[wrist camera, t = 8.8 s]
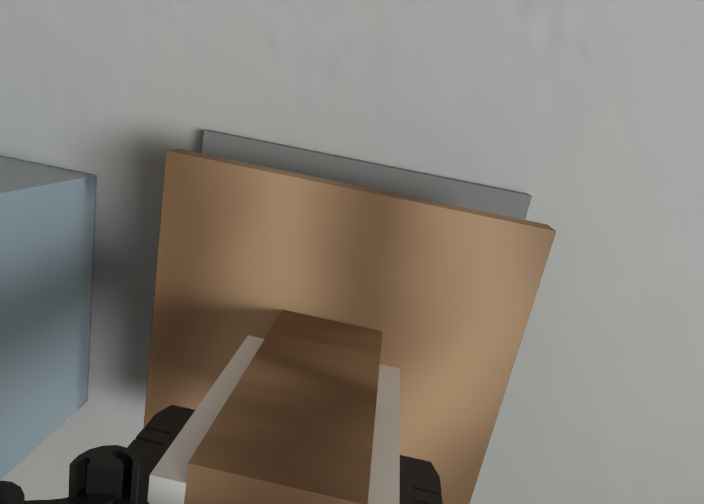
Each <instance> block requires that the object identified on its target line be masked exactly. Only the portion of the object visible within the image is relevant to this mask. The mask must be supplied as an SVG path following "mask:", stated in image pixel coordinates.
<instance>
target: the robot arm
mask: <svg viewBox="0 0 704 504" xmlns="http://www.w3.org/2000/svg"><path fill="white" fill-rule="evenodd" d="M263 341H264V339H263V338H258V337H254V336H249V335H248V336H247V338H246V339H245V341H244V342H243V343H242V345H241V346H240V348H239V349H238V350H237V352H236V353H235V355H234V356H233V358H232V359H231V360H230V362H229V363H228V365H227V366H226V367H225V369H224V370H223V372H222V373H221V375H220V376H219V377H218V379H217V380H216V382H215V383H214V384H213V386H212V387H211V389H210V390H209V392H208V393H207V394H206V396H205V397H204V399H203V400H202V401H201V403H200V404H199V406H198V407H197V409H196V410H194V409H189V408H185V407H180V406H176V405H170V406H168V407H167V408H165V409H163V410H161V411H160V412H158V413H156V414H155V415H154V416H153V417H152V419H151V420H150V421H149V422H148V423H147V425H146V426H145V428H144V429H142V431H141V432H140V433H139V434H138V435H137V437H136V439H135V440H133V441H132V443H131V444H130V445H129V446H128V447H127V448H126V447H122V446H118V445H110V446H101V447H97V448H93V449H90V450H88V451H86V452H84V453H82V454H80V455H79V456H77V457H76V458H75V459H74V460H73V461H72V462H71V464H70V471H69V497H67V498H63V499H54V500H32V501H24V493H23V491H22V489H21V487H20V486H18V485H16V484H14V483H12V482H7V481H0V504H184V498H185V490H186V475H187V466H188V462H189V460H190V459H191V457H192V456H193V454H194V452H195V451H196V449H197V447H198V446H199V444H200V443H201V441H202V439H203V438H204V436H205V435H206V433H207V431H208V430H209V428H210V426H211V425H212V423H213V422H214V420H215V418H216V417H217V415H218V414H219V412H220V410H221V409H222V407H223V405H224V404H225V402H226V401H227V399H228V397H229V396H230V394H231V393H232V391H233V389H234V388H235V386H236V384H237V383H238V381H239V380H240V378H241V376H242V375H243V373H244V372H245V370H246V368H247V367H248V365H249V364H250V362H251V360H252V359H253V357H254V355H255V354H256V352H257V351H258V349H259V347H260V346H261V344H262V343H263ZM441 493H442V492H441V483H440V476H439V475H438V473H437V471H436V470H435V468H434V466H433V465H432V463H431V462H430V461H425V460H421V459H417V458H412V457H408V456H403V455H400V368H396V367H391V366H386V365H382V364H380V366H379V377H378V389H377V401H376V413H375V424H374V436H373V448H372V460H371V471H370V483H369V495H368V504H443V501H442V496H441Z"/></svg>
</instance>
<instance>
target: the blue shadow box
mask: <svg viewBox="0 0 704 504" xmlns="http://www.w3.org/2000/svg"><path fill="white" fill-rule="evenodd" d="M95 196H96V175H91V174H87V173H82V172H77V171H72V170H67V169H62V168H57V167H52V166H48V165H43V164H38V163H33V162H28V161H23V160H18V159H14V158H9V157H4V156H0V480H1V479H2V478H3V477H4V476H5V475H6V474H8V473H9V472H10V471H11V470H12V469H13V468H14V467H15V466H16V465H17V464H19V463H20V462H21V461H22V460H23V459H24V458H25V457H26V456H27V455H28V454H30V453H31V452H32V451H33V450H34V449H35V448H36V447H37V446H38V445H40V444H41V443H42V442H43V441H44V440H45V439H46V438H47V437H48V436H49V435H51V434H52V433H53V432H54V431H55V430H56V429H57V428H58V427H59V426H60V425H62V424H63V423H64V422H65V421H66V420H67V419H68V418H69V417H70V416H72V415H73V414H74V413H75V412H76V411H77V410H78V409H79V408H80V407H81V406H83V405H84V404H85V403H86V402H87V394H88V369H89V344H90V319H91V295H92V270H93V245H94V221H95Z"/></svg>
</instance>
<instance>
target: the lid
mask: <svg viewBox="0 0 704 504" xmlns="http://www.w3.org/2000/svg"><path fill="white" fill-rule="evenodd" d="M555 233H556V231H555V230H554V229H553V228H551V227H550V226H548V225H547V224H542V223H537V222H532V221H527V220H522V219H518V218H513V217H508V216H503V215H498V214H493V213H488V212H484V211H479V210H474V209H469V208H464V207H459V206H454V205H450V204H445V203H440V202H435V201H430V200H425V199H420V198H416V197H411V196H406V195H401V194H396V193H391V192H386V191H382V190H377V189H372V188H367V187H362V186H357V185H352V184H348V183H343V182H338V181H333V180H328V179H323V178H318V177H314V176H309V175H304V174H299V173H294V172H289V171H284V170H280V169H275V168H270V167H265V166H260V165H255V164H251V163H246V162H241V161H236V160H231V159H226V158H221V157H217V156H212V155H207V154H202V153H197V152H192V151H187V150H183V149H175V150H167V151H166V161H165V173H164V186H163V198H162V210H161V222H160V234H159V246H158V259H157V271H156V283H155V295H154V307H153V319H152V332H151V344H150V356H149V368H148V380H147V392H146V405H145V417H144V428H145V426H146V425H147V423H148V422H149V421H150V420H151V419H152V417H153V416H154V415H155V414H156V413H158V412H160V411H161V410H163V409H165V408H167V407H168V406H170V405H176V406H180V407H185V408H189V409H194V410H196V409H197V407H198V406H199V404H200V403H201V401H202V400H203V399H204V397H205V396H206V394H207V393H208V392H209V390H210V389H211V387H212V386H213V384H214V383H215V382H216V380H217V379H218V377H219V376H220V375H221V373H222V372H223V370H224V369H225V367H226V366H227V365H228V363H229V362H230V360H231V359H232V358H233V356H234V355H235V353H236V352H237V350H238V349H239V348H240V346H241V345H242V343H243V342H244V341H245V339H246V338H247V336H248V335H249V336H254V337H258V338H263V339H264V341H263V343H262V344H261V346H260V347H259V349H258V351H257V352H256V354H255V355H254V357H253V359H252V360H251V362H250V364H249V365H248V367H247V368H246V370H245V372H244V373H243V375H242V376H241V378H240V380H239V381H238V383H237V384H236V386H235V388H234V389H233V391H232V393H231V394H230V396H229V397H228V399H227V401H226V402H225V404H224V405H223V407H222V409H221V410H220V412H219V414H218V415H217V417H216V418H215V420H214V422H213V423H212V425H211V426H210V428H209V430H208V431H207V433H206V435H205V436H204V438H203V439H202V441H201V443H200V444H199V446H198V447H197V449H196V451H195V452H194V454H193V456H192V457H191V459H190V460H189V462H188V466H187V475H186V490H185V498H184V504H368V495H369V483H370V471H371V460H372V448H373V436H374V424H375V413H376V401H377V389H378V377H379V366H380V364H382V365H386V366H391V367H396V368H400V455H403V456H408V457H412V458H417V459H421V460H425V461H430V462H431V463H432V465H433V466H434V468H435V470H436V471H437V473H438V475H439V476H440V483H441V492H442V493H441V496H442V501H443V504H469V503H470V500H471V496H472V493H473V490H474V487H475V484H476V481H477V478H478V475H479V471H480V468H481V465H482V462H483V459H484V456H485V453H486V449H487V446H488V443H489V440H490V437H491V434H492V431H493V428H494V424H495V421H496V418H497V415H498V412H499V409H500V406H501V402H502V399H503V396H504V393H505V390H506V387H507V384H508V380H509V377H510V374H511V371H512V368H513V365H514V362H515V359H516V355H517V352H518V349H519V346H520V343H521V340H522V337H523V333H524V330H525V327H526V324H527V321H528V318H529V315H530V312H531V308H532V305H533V302H534V299H535V296H536V293H537V290H538V286H539V283H540V280H541V277H542V274H543V271H544V268H545V264H546V261H547V258H548V255H549V252H550V249H551V246H552V243H553V239H554V236H555Z"/></svg>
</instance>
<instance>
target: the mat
mask: <svg viewBox="0 0 704 504" xmlns="http://www.w3.org/2000/svg"><path fill="white" fill-rule="evenodd" d="M202 154H207V155H212V156H217V157H221V158H226V159H231V160H236V161H241V162H246V163H251V164H255V165H260V166H265V167H270V168H275V169H280V170H284V171H289V172H294V173H299V174H304V175H309V176H314V177H318V178H323V179H328V180H333V181H338V182H343V183H348V184H352V185H357V186H362V187H367V188H372V189H377V190H382V191H386V192H391V193H396V194H401V195H406V196H411V197H416V198H420V199H425V200H430V201H435V202H440V203H445V204H450V205H454V206H459V207H464V208H469V209H474V210H479V211H484V212H488V213H493V214H498V215H503V216H508V217H513V218H518V219H522V220H525V218H526V214H527V211H528V207H529V204H530V201H531V197H532V196H531V195H529V194H526V193H521V192H516V191H511V190H506V189H501V188H496V187H491V186H486V185H481V184H476V183H471V182H466V181H461V180H456V179H451V178H446V177H441V176H436V175H431V174H426V173H421V172H416V171H411V170H406V169H401V168H396V167H391V166H386V165H381V164H376V163H371V162H366V161H361V160H356V159H351V158H346V157H341V156H336V155H331V154H326V153H321V152H316V151H311V150H306V149H301V148H296V147H291V146H286V145H281V144H276V143H271V142H266V141H261V140H256V139H251V138H246V137H241V136H236V135H231V134H226V133H221V132H216V131H211V130H204V134H203V144H202Z"/></svg>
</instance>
